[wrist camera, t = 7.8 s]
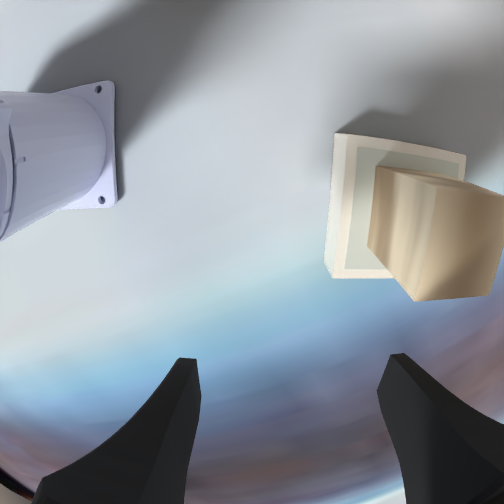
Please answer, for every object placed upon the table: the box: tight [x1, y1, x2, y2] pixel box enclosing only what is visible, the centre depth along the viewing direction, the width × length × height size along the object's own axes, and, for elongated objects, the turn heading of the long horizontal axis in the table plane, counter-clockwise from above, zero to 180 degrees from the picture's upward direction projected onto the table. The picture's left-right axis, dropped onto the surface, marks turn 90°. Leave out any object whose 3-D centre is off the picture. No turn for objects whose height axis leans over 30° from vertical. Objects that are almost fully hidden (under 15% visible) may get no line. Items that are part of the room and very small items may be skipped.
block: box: [367, 165, 504, 301], centre depth 13 cm, size 4×4×6 cm
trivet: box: [324, 133, 467, 278], centre depth 17 cm, size 8×8×3 cm
